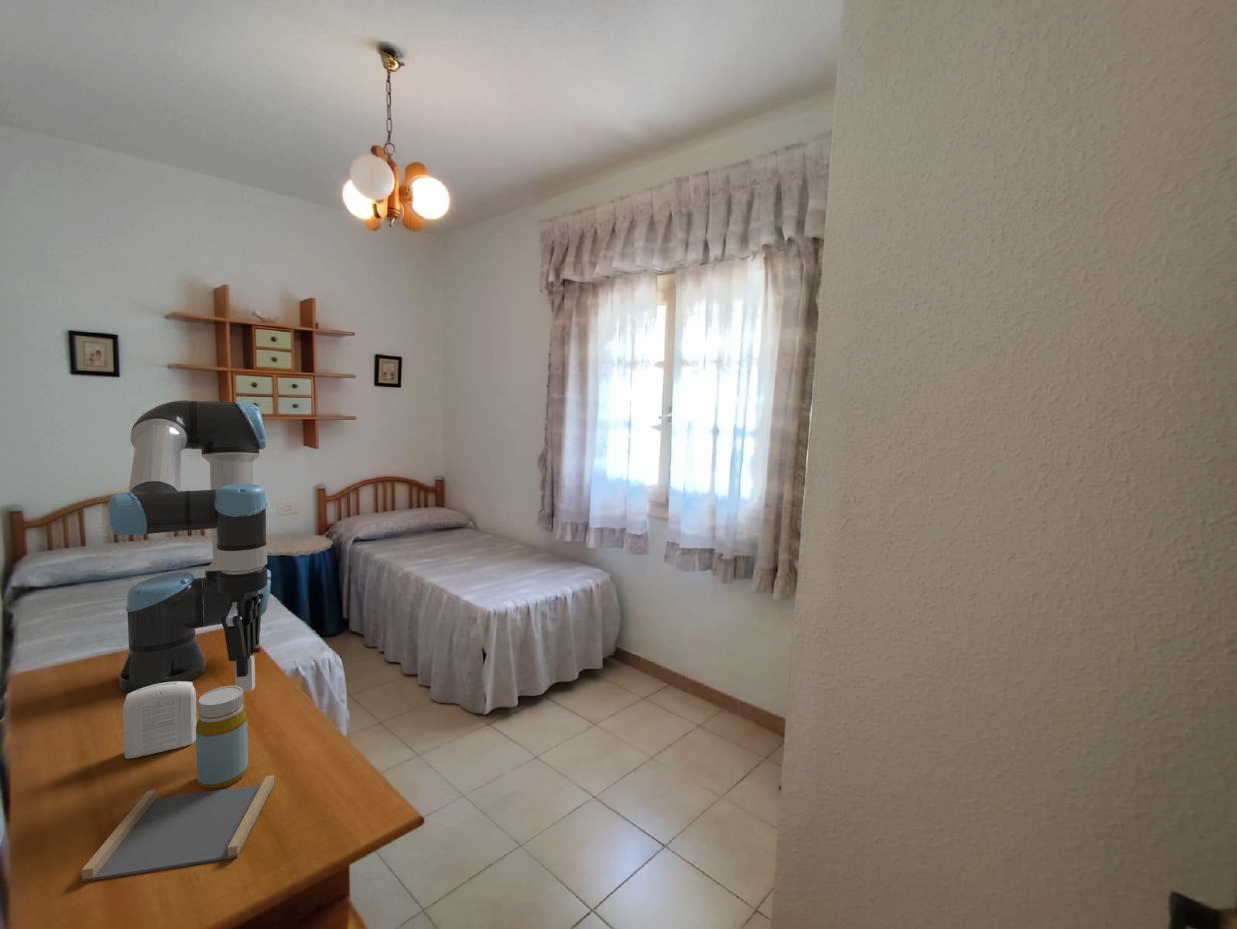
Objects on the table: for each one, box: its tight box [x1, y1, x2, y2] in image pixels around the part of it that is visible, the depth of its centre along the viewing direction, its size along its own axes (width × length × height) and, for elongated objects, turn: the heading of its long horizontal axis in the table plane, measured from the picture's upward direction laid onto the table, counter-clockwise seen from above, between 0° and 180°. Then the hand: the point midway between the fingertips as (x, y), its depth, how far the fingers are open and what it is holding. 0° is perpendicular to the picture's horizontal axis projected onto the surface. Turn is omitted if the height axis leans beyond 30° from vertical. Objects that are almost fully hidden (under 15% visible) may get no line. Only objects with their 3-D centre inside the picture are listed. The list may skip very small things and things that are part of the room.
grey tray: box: [81, 775, 275, 883], centre depth 80 cm, size 15×18×2 cm
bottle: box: [195, 685, 249, 790], centre depth 91 cm, size 7×7×15 cm
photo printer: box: [122, 681, 197, 760], centre depth 98 cm, size 10×4×12 cm, turn 123°
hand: (245, 689), depth 100 cm, fingers closed
